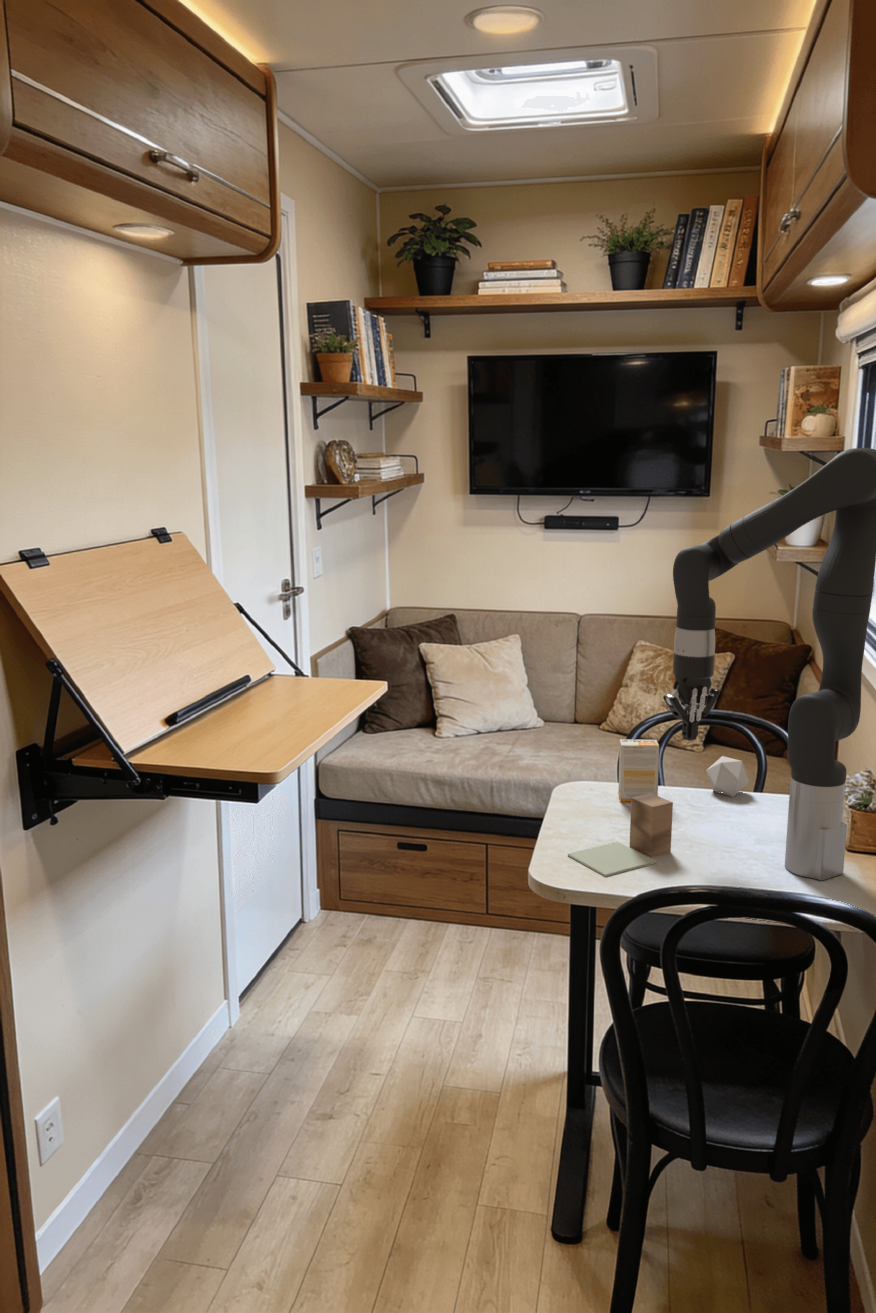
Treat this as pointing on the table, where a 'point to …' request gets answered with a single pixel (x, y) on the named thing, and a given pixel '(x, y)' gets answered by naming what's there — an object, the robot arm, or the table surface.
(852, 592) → the robot arm
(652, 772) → the supplement box
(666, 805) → the walnut block
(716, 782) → the die
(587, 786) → the table surface
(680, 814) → the table surface
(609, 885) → the table surface
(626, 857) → the mat
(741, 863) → the table surface
